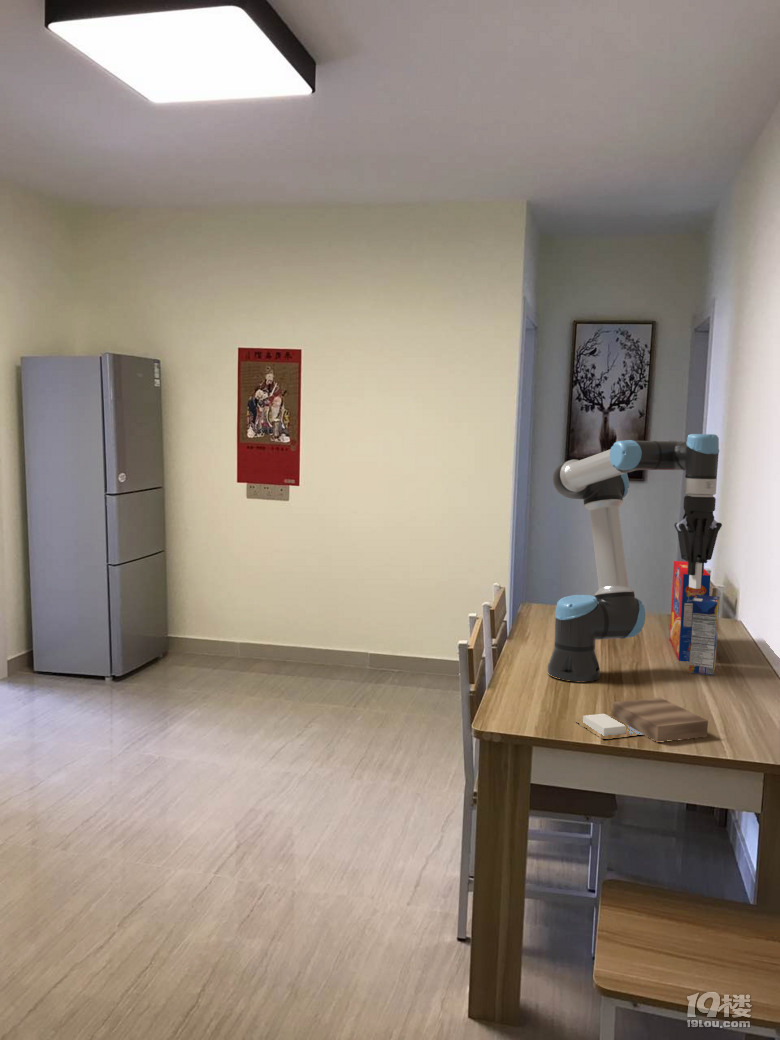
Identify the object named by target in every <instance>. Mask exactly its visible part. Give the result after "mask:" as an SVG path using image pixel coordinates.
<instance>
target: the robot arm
mask: <svg viewBox="0 0 780 1040" xmlns="http://www.w3.org/2000/svg"><path fill="white" fill-rule="evenodd" d="M719 439H720V438H719V436H718V435H716V434H715V433H714V434H713V433H711V434H709V433H691V434H688V436H687V439H686V441H682V440H681V441H680V440H679V441H678V440H632V439H627V440H626V439H624V440H617V441H616V442H614V443H613V445H612V446H611V447H610V449H608V450H604V451H601V452H600V453H597V454H594V455H590V456H588V457H586V458H583V459H582V458H581V459H580V460H579V459H570V460H567V461H564V462H562V463H560V464H559V465H558V466H557V467H556V468H555V469H554V471H553V474H552V482H553V486H554V488H555V490H556V491H557V492H558V493H559V494H560V495H561V496H563V497H564V498H566V499H567V498H568V499H572V500H582V501H583V506H584V508H585V509H586V510H588V511H589V517H590V522H591V523H590V525H591V533H592V540H593V541H592V542H593V549H594V559H595V567H596V575H597V585H598V590H597V591H596V592H595V593H594V595H590V594H572V595H568V596H564V597H562V598H560V599H559V600H557V602H556V608H555V614H554V617H555V621H554V623H555V624H554V626H555V627H554V629H555V630H554V649H553V651H552V654H551V657H550V659H549V662H548V665H547V672H548V673H549V674H550V675H552V676H554V677H557V678H560V679H564V680H570V681H592V682H595V681H594V680H596V681H598V680H600V678H601V669H600V668H601V667H600V664H599V662H598V658H597V654H596V641H597V640H599V641H600V640H612V639H613V640H615V639H620V640H623V639H627V638H628V639H629V638H633V637H636V636H638V635H639V634H640V633H641V631H642V629H643V627H644V625H645V621H646V608H645V606H644V604H643V602H642V600H641V599H639V598H637V597H636V596H635V591H634V589H632V588H631V587H630V586H629V583H628V582H629V581H628V574H627V567H626V558H625V557H626V556H625V550H624V542H623V534H622V527H621V526H622V525H621V517H620V507H621V506H622V505H623V503H624V498H625V497H626V496H627V495H628V493H629V490H628V489H629V488H630V482H629V477H628V476H629V475H628V473H632V472H635V471H646V470H647V471H649V470H650V471H653V470H654V471H685V475H684V489H683V490H684V491H683V492H684V493H685V494H686V495H685V496H684V497H683V510H684V514H683V517H682V520H680V521H679V522H675V523H674V528H675V530H676V532H677V537H678V544H679V549H680V550H679V552H680V557H681V559H682V560H683V561H684V562H688V575H689V587H691V588H695V589H701V575H703V573H704V569H705V564H707V563H708V561H711V560H712V558H713V557H712V556H713V553H714V550H715V546H716V541H717V538H718V534H719V531H720V530H721V528H722V527H723V526H722V525H723V524H722V522H718V521H716V520H715V516H714V512H715V511H716V500H717V499H716V496H715V495H716V494H717V483H718V468H719V466H718V464H719V454H720V449H719V446H720V441H719ZM548 673H547V674H548ZM597 679H598V680H597Z"/></svg>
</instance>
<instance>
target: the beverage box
mask: <svg viewBox="0 0 780 1040" xmlns="http://www.w3.org/2000/svg"><path fill="white" fill-rule="evenodd" d="M719 608H720V596H715V595H709V596H705V595H695V598H694V600H693V609H692V627H691V644H690V662H688V664H689V667H688V673H691V674H700V675H705V674H706V676H714V673H715V669H716V661H717V658H716V657H717V646H718V645H717V643H718V642H717V641H718V627H719V612H720V611H719V610H720V609H719Z"/></svg>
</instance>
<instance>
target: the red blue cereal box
mask: <svg viewBox="0 0 780 1040" xmlns="http://www.w3.org/2000/svg"><path fill="white" fill-rule="evenodd" d="M672 565H673V566H672V567H673V568H672V583H671V584H672V586H671V600H670V601H671V603H670V604H671V607H670V621H669V622H670V625H669V638H668V639H669V642H671V643H670V645H671V644H672V645H671V647H672V649H673V651H675V652H674V654H675V656H676V657H677V660H679V661H678V662H686V661H688V663H689V662H690V644H691V627H692V609H693V600H694V598H695V595H705V596H710V589H711V574H710V573H709V572H708V571H707V570H706V569H705V568H704V573H703V575H701V589H695V588H691V587H689V575H688V561H684V560H683V561H682V560H681V561H679V560H673V564H672Z"/></svg>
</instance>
